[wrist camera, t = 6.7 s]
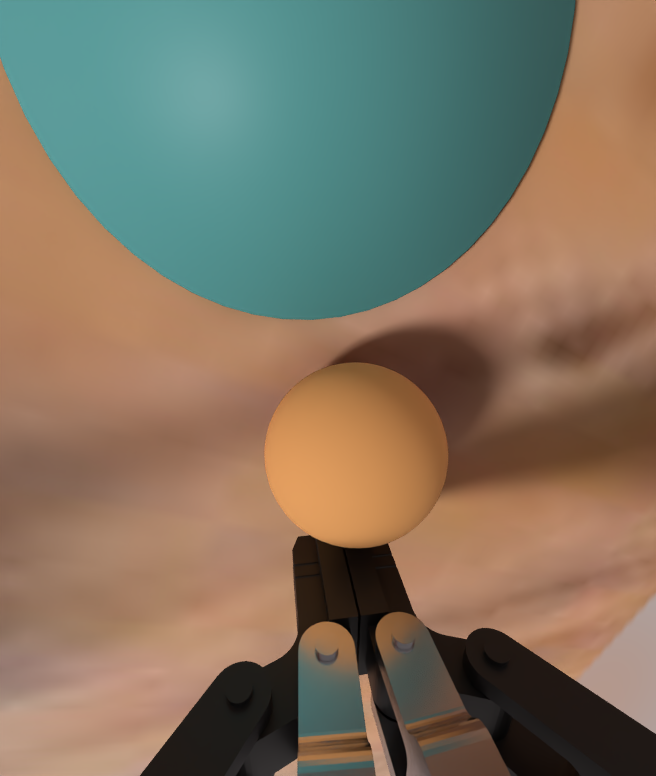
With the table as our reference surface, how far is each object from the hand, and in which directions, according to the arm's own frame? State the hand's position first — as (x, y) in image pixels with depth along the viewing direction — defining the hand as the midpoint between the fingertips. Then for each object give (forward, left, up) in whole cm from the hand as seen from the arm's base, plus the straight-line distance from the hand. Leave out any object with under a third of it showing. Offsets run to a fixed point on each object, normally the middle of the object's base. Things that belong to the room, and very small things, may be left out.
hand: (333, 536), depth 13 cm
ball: (0, +4, 0) cm, 4 cm away
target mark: (0, +13, -2) cm, 13 cm away
